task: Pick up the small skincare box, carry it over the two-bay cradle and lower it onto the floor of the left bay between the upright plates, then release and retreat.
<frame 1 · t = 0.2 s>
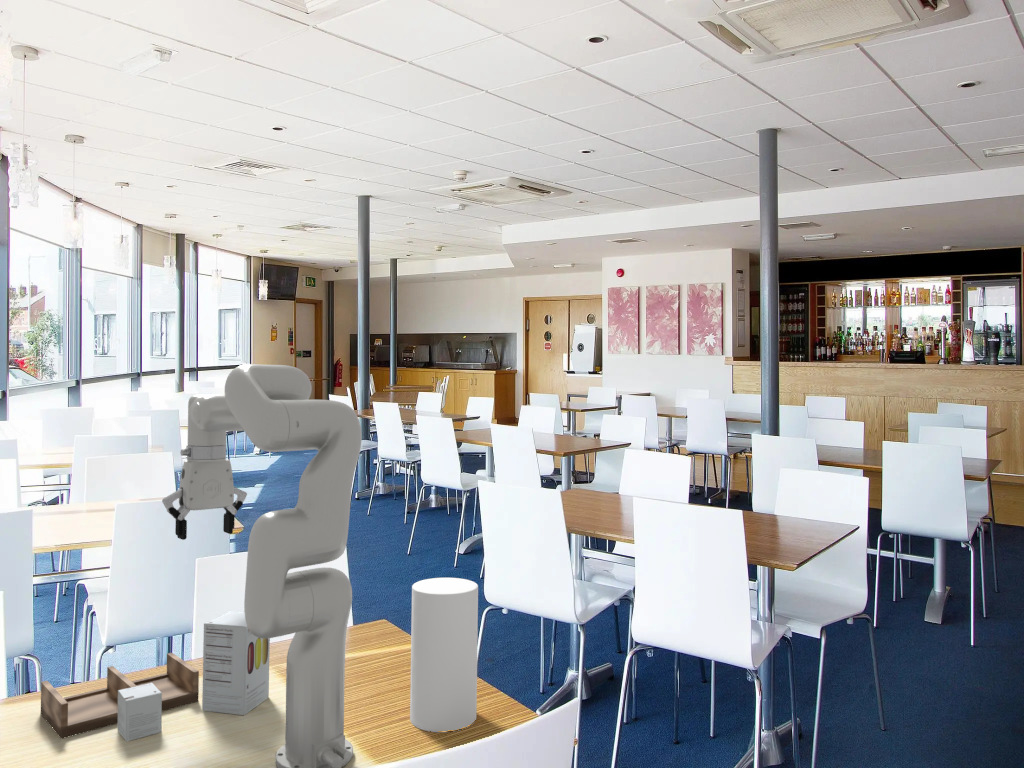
hand: (205, 535, 162), 31 cm above the table, fingers open, 9 cm apart
cradle: (121, 707, 149), on the table
cylinder: (443, 718, 146), on the table
skincare box: (139, 732, 139), on the table
supplement box: (236, 705, 151), on the table
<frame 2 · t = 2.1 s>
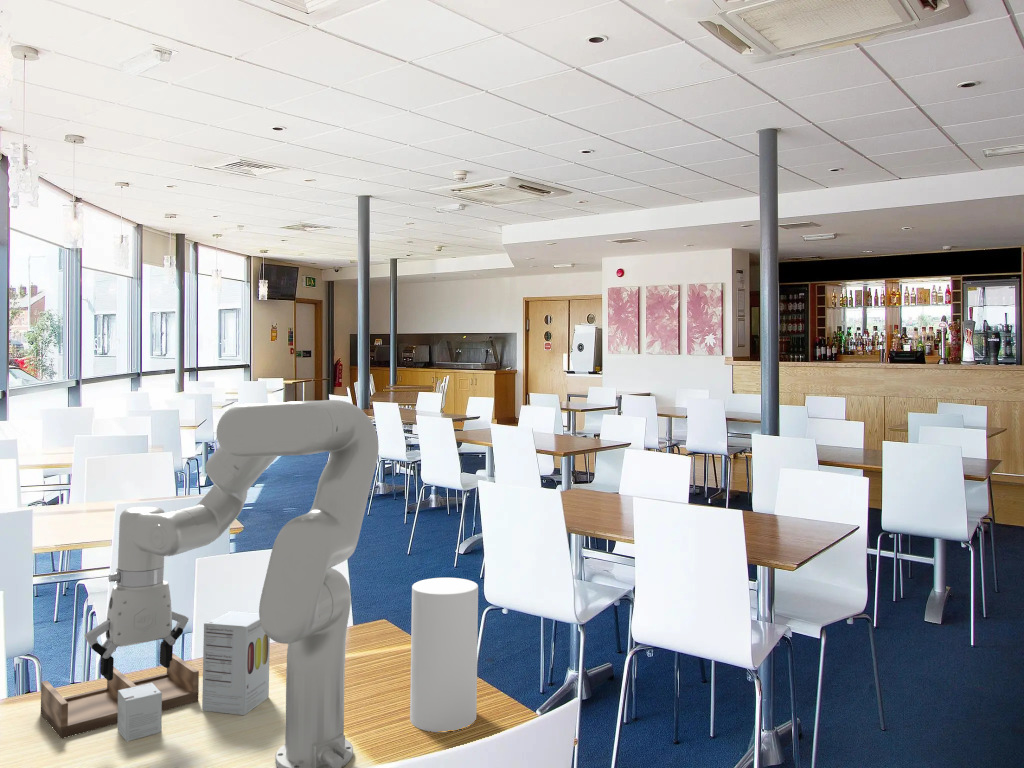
hand: (136, 671, 139), 11 cm above the table, fingers open, 9 cm apart
nothing on the table moved.
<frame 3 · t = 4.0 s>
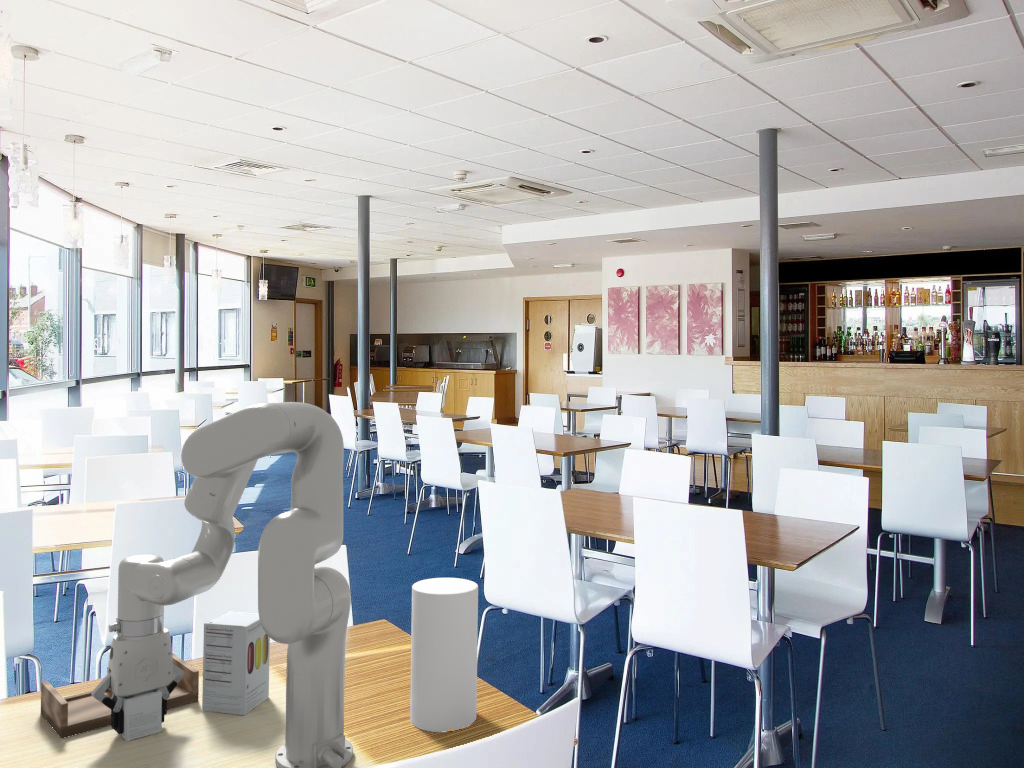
hand: (139, 724, 139), 1 cm above the table, fingers closed on skincare box, 6 cm apart
skincare box: (139, 732, 139), on the table, touching gripper
everything else where it was.
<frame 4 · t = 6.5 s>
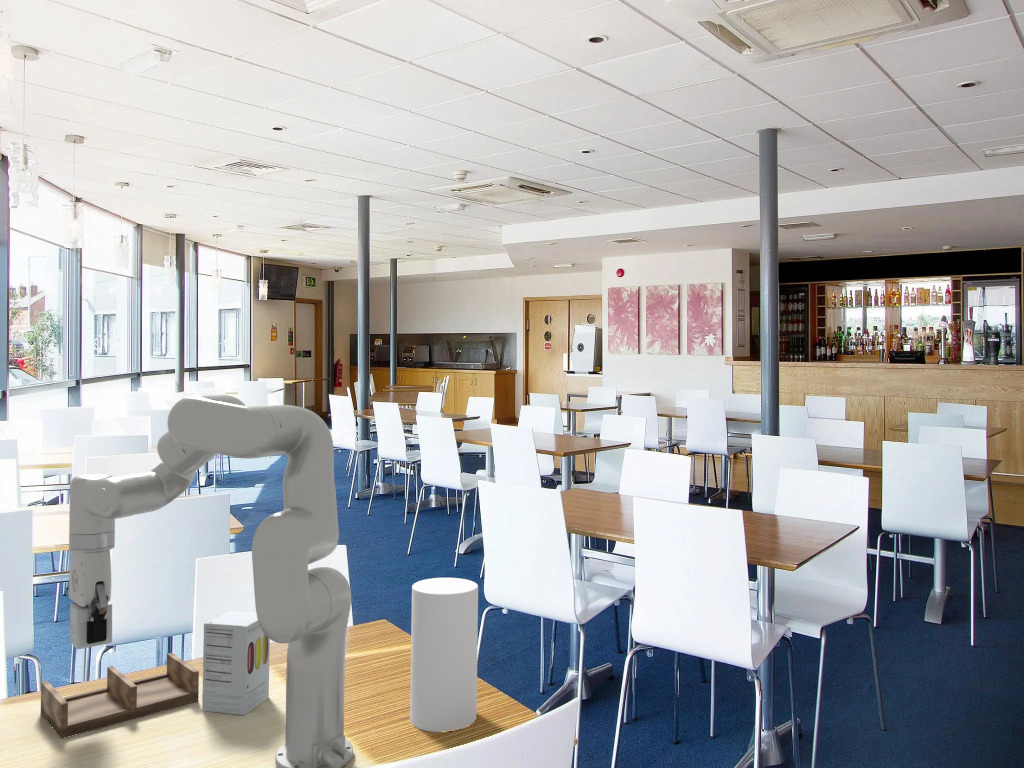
hand: (90, 636, 145), 15 cm above the table, fingers closed on skincare box, 6 cm apart
skincare box: (90, 643, 145), point 14 cm above the table, touching gripper
everything else where it was.
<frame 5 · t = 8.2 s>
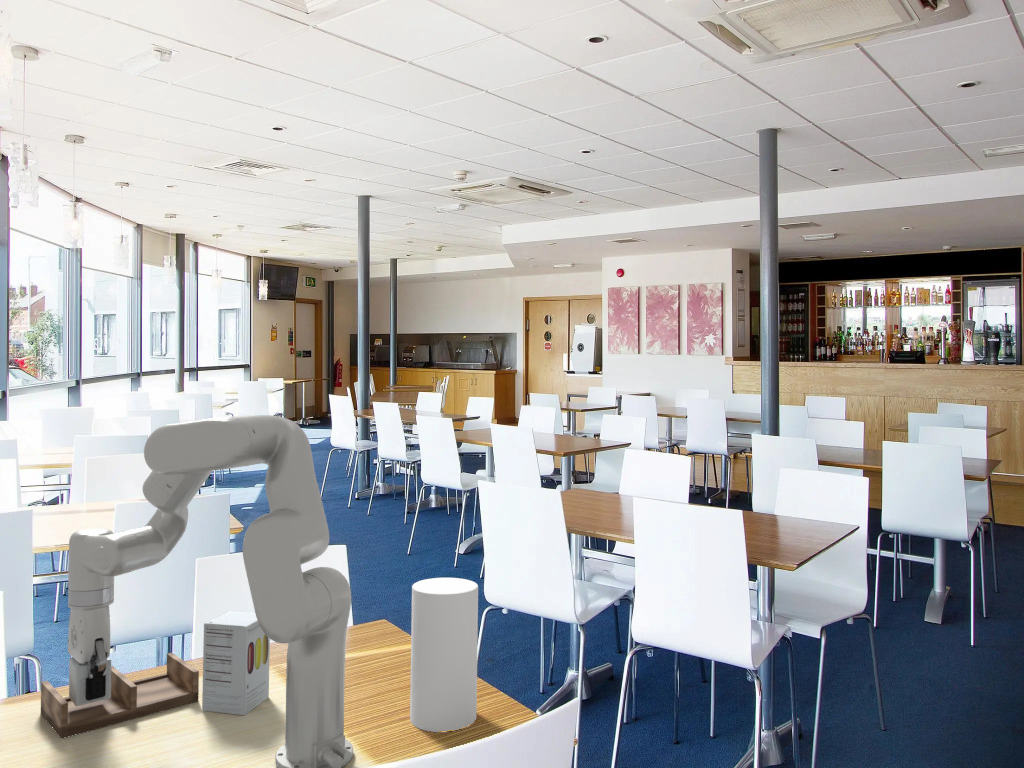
hand: (89, 691, 144), 5 cm above the table, fingers closed on skincare box, 6 cm apart
skincare box: (89, 698, 145), point 3 cm above the table, touching gripper
everything else where it was.
when the fingers open (4 cm above the table, at t = 9.3 s): skincare box drops 1 cm, resting on cradle.
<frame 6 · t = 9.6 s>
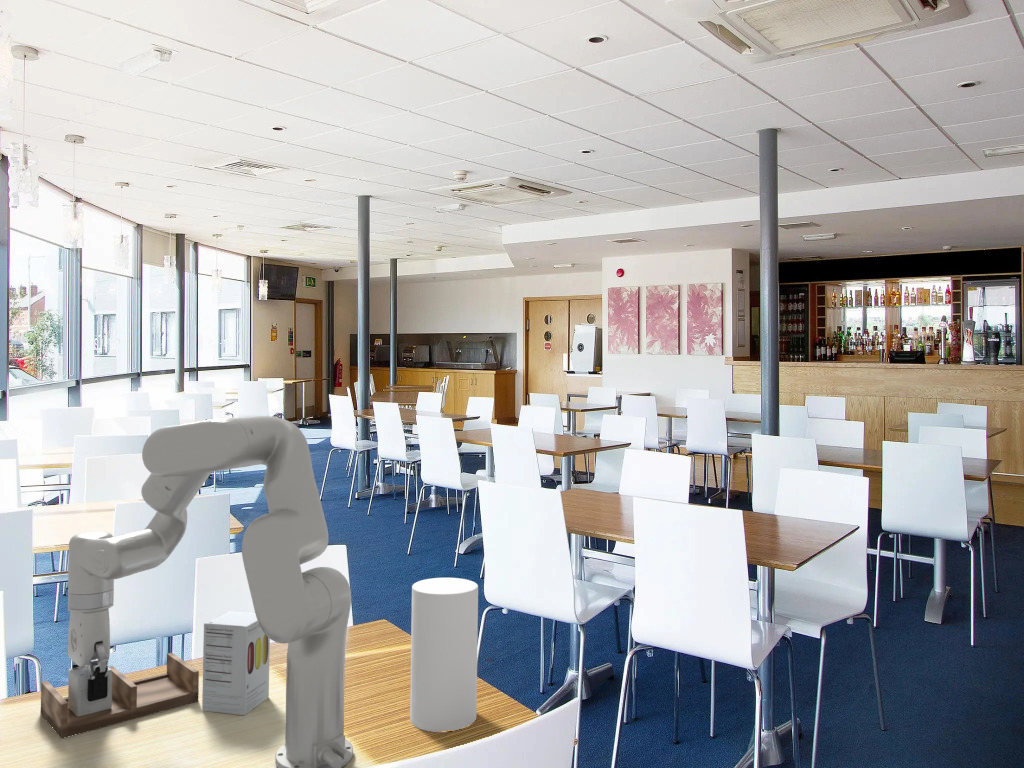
hand: (89, 691, 145), 5 cm above the table, fingers open, 9 cm apart
skincare box: (89, 709, 145), point 1 cm above the table, touching cradle
everything else where it was.
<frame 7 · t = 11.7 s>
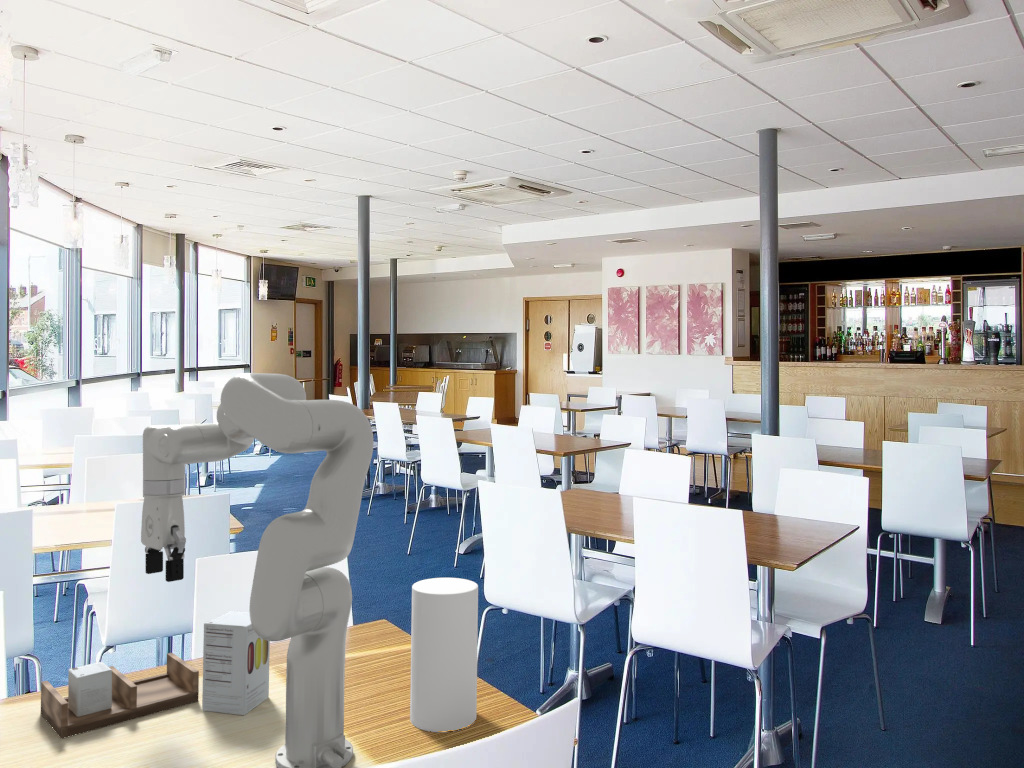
hand: (164, 576, 151), 25 cm above the table, fingers open, 9 cm apart
nothing on the table moved.
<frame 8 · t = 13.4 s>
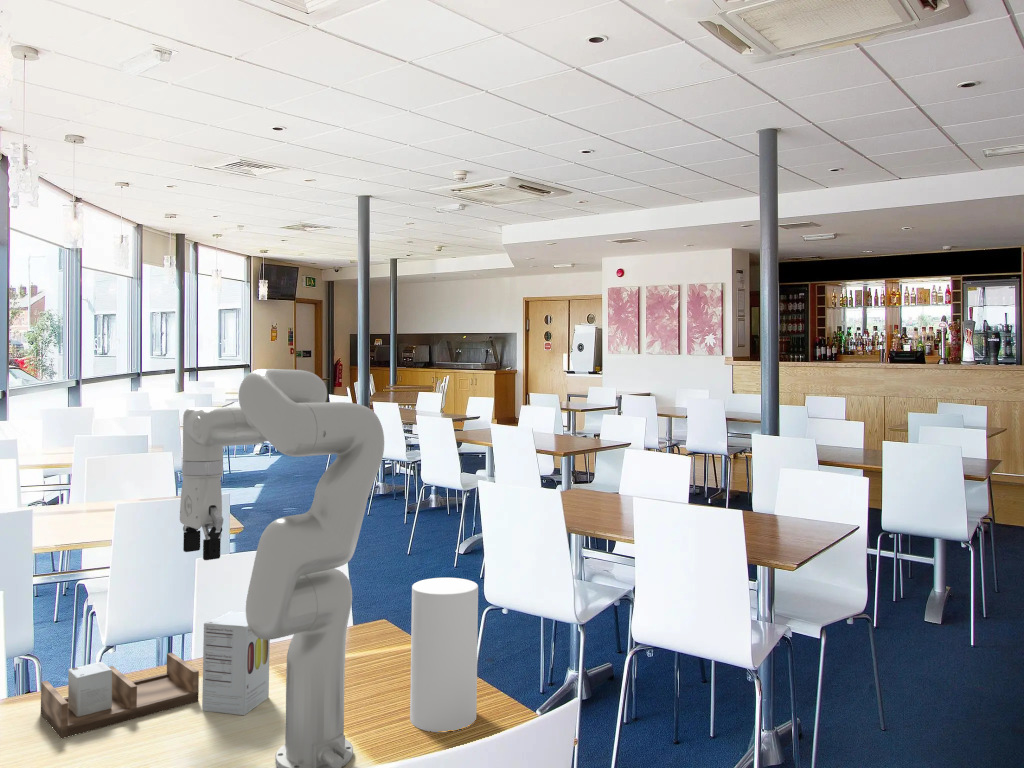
hand: (201, 555, 154), 28 cm above the table, fingers open, 9 cm apart
nothing on the table moved.
at the end: skincare box inside the target area on the cradle (0.3 cm from its centre), point 1.3 cm above the cradle's base; skincare box tilted 0°; the gripper is holding nothing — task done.
